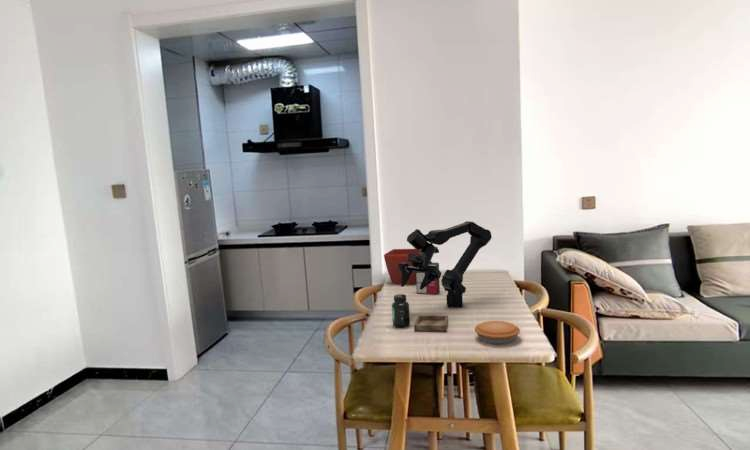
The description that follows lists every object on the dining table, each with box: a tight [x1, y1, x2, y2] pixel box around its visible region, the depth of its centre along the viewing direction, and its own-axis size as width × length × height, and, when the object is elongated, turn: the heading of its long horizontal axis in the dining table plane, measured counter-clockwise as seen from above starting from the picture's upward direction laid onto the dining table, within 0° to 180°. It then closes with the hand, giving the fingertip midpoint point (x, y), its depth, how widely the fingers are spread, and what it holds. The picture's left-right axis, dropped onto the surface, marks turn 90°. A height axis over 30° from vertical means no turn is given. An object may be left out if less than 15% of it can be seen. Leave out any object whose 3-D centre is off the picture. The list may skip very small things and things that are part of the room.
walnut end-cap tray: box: [413, 314, 449, 333], centre depth 181 cm, size 12×12×2 cm
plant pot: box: [383, 248, 421, 285], centre depth 255 cm, size 19×19×17 cm
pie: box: [474, 320, 521, 346], centre depth 164 cm, size 15×16×5 cm
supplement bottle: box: [391, 293, 411, 329], centre depth 184 cm, size 7×7×12 cm
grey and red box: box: [415, 262, 441, 295], centre depth 229 cm, size 11×4×15 cm, turn 68°
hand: (411, 287), depth 189 cm, fingers open, 9 cm apart
